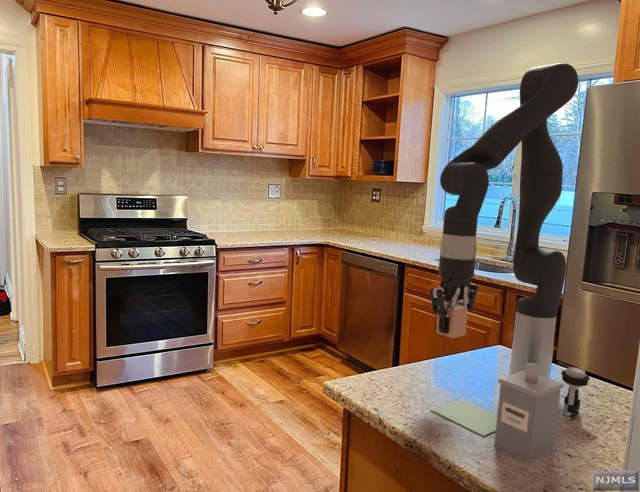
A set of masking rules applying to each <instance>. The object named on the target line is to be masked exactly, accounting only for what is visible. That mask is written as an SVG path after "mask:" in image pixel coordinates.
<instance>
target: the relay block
mask: <svg viewBox="0 0 640 492" xmlns="http://www.w3.org/2000/svg"><path fill="white" fill-rule="evenodd" d="M449 302H450V301H448V303H449ZM438 309H439V306H438ZM446 309H447V306H445V311H446ZM468 313H469V310H468V309H467V308H464V306H463V305H459V304H458V301H456V303H455V307H454V308H452V310H451V314H450V323H449V333H448V334H444V333H441V332H439V315H438V314H437V320H436V331H435V333H436V334H438V335H442V336H444V337H447V338H451V339H456V338H459V337H463V336H466V334H467V323H468Z"/></svg>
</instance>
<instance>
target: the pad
mask: <svg viewBox="0 0 640 492" xmlns="http://www.w3.org/2000/svg"><path fill="white" fill-rule="evenodd" d="M430 412H432V413H435V414H437V415H438V416H440V417H442V418H445V419H447V420H449V421H450V422H453V423H455V424H457V425H458V426H461V427H462V428H465V429H467V430H469V431H471V432H473V433H475V434H477V435H479V436H481V437H482V438H483V437H484V438H485V437H487V436H489V435H491V434H495V433H496V425H497V415H498V414H495V413H493V412H491V411H488V410H486V409H483V408H481V407H479V406H477V405H474V404H472V403H470V402H468V401H466V400H463V399H462V398H460V399H458V400H454V401H451V402H448V403H446V404H442V405H439V406H437V407H433V408H432V409H430Z"/></svg>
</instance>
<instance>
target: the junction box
mask: <svg viewBox="0 0 640 492" xmlns="http://www.w3.org/2000/svg"><path fill="white" fill-rule="evenodd" d="M498 383H499V384H500V386H499V387H500V389H499V397H498V405H497V406H498V408H497V414H496V415H497V425H496V432H495V433H494V434H495V437H494V444H493V446H496V447H497V448H499V449H501V450H502V451H505V452H507V453H508V454H509V453H510V454H511V455H512V456H513V455H514V456H516V457H517V458H520V459H521V460H523V461H524V462H525V461H526V462H528V463H532V462H533V461H535V460H537V459H539V458H541V457H543V456H545V455H546V454H548V453H550V452H552V451H554V449H555V447H554V446H555V437H556V430H557V422H558V421H557V420H558V415H559V404H560V396H561V390H562V389H563V388H564V385H565V384H564V383H565V382H560V381H558V380H555V379H553V378H551V377H550V378H547V377H544V376H541V375H539V365H538V364H535V363H527V364H526V370H523V371H520V372H517V373H514V374H511V375H509V374H508V375H504V376H502V377H499V378H498Z"/></svg>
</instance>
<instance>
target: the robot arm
mask: <svg viewBox="0 0 640 492" xmlns="http://www.w3.org/2000/svg"><path fill="white" fill-rule="evenodd" d="M578 87H579V76H578V72H577V70H576V69H575V67H573V66H572V65H571V64H569V63H564V62H562V63H561V62H559V63H558V62H556V63H551V64H546V65H541V66H536V67H532V68H530V69H528V70H527V71H526V72H525V73H524V74H523V75H522V79H521V81H520V87H519V106H518V107H517V108H516V109H514V110H513V111H511V112H509V113H508V114H506V115H504V116H503V117H501V118H499V120H497V121H495V122H494V123H493V124H491V126H490V127H489V128H488V129H487V130H486V131H485V132H484V133H483V134H482V135H481V136H480V137H479V138H478V139H477V140H476V142H474V144H472V145H471V146H470V147H468V148H466V149H464V150H463V151H462V152H460V154H458V155H456V156H455V157H454V158H453V159H452V160H450V161H449V162H448V163H447V164H446V165H445V166H444V168H442V169H443V170H442V172H441V174H440V179H439V180H440V181H439V182H440V186H441V189H442V190H443V191H444V192H445V193H446V194H449V195H453V196H458V199H457V200H456V204H455V205H454V206H449V207H448V208H446V209H445V211H444V215H443V216H444V217H443V224H442V226H443V227H442V236H441V237H442V238H441V241H440V250H439V260H438V261H439V263H438V271H437V272H438V273H437V274H438V275H439V276H441V281H440V283H439V286H438V287H436V288H435V287H431V288H430V290H429V291H430V292H429V293H430V300H431V308H432V313H433V314H435V315H437V316H438V315H439V332H441V333H444V334H448V333H449V323H450V314H451V310H452V308H454V307H455V303H456V301H458V304H459V305H463V306H464V308H467V309H468V311H470V312H471V311H472V310H473V308H474V305H475V304H474V303H475V300H476V297H477V294H478V293H477V292H478V289H479V285H478V284H475V283H472V282H471V281H470V280H471V279H473V278H474V276H475V265H476V256H477V255H476V254H477V231H478V230H477V229H478V220H479V219H478V218H479V215H480V212H481V211H482V210H481V209H482V207H483V204H484V201H485V198H486V195H487V192H488V191H489V190H488V189H489V184H490V183H489V182H490V177H489V173H488V170H489V171H490V170H493V169H495V168H497V167H498V166H499V165H501V164H502V162H504V160H505V159H507V157H508V155H510V154H511V153H512V152H513V150H515V148H516V147H517V146H518V145H519V144H520V143H521V156H520V157H521V161H520V173H519V175H520V177H519V205H518V207H519V208H518V223H517V230H516V237H515V238H516V239H515V245H514V252H513V258H512V259H513V262H512V263H513V264H512V268H513V269H512V270H513V274H514V277H515V279H516V280H517V281H518V282H521V283H524V284H529V285H532V286H536V287H537V288H536V291H535V293H534V295H532V296H527V297H522V298H519V299H517V301H516V305H515V306H516V308H515V317H514V325H513V326H514V328H513V335H512V336H513V337H512V346H511V353H510V355H511V356H510V362H509V364H510V365H509V371H508V375H511V374H514V373H517V372H520V371H523V370H526V364H527V363H535V364H538V365H539V375H541V376H544V377H547V378H550V379H551V373H552V362H553V355H554V346H555V345H554V343H555V342H554V341H555V333H556V326H557V325H556V324H557V323H556V322H557V315H558V310H559V307H560V305H561V302H562V296H563V290H564V283H565V280H566V279H565V278H566V274H567V273H566V272H567V261H566V257H565V255H564V253H563V252H562V251H559V250H556V249H550V248H544V247H539V246H540V245H539V243H540V242H539V241H540V235H541V230H542V226H543V224H544V222H545V220H546V219H547V217H548V216H549V214H550V213H551V212H552V210H553V209H554V207H555V206H556V205H557V203H558V202H559V200H560V197H561V194H562V190H563V176H564V174H563V173H564V167H563V166H564V165H563V161H562V157H561V155H560V153H559V151H558V149H557V148H556V145H555V144H554V142H553V140H552V138H551V136H550V133H549V129H548V119H549V118H550V117H551V116H552V115H554V114H555V113H556V112H558V111H559V110H560V109H562V108H563V107H565V105H567V104H568V103H569V102H570V101H571V100H572V99H573V98H574V96H575V95H576V93H577V90H578ZM449 301H450V302H449ZM445 306H447V309H446V311H445ZM438 307H439V309H438Z"/></svg>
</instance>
